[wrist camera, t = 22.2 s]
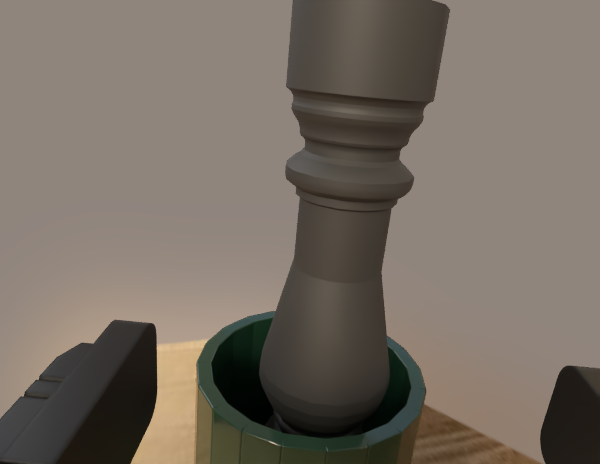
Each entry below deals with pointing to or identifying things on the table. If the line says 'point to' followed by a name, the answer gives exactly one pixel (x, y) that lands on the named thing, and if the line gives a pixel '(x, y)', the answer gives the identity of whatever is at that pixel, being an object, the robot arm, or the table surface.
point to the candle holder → (346, 203)
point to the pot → (257, 409)
